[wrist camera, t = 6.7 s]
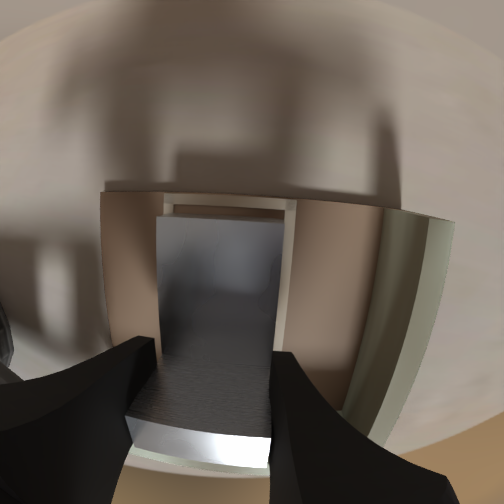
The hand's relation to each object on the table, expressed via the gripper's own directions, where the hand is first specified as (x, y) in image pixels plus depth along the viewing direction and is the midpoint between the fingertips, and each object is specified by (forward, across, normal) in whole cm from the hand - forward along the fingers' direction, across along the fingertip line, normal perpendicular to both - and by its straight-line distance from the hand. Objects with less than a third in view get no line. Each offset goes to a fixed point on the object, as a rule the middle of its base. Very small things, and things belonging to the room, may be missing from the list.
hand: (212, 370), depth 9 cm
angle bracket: (+2, 0, -2) cm, 3 cm away
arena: (+3, -1, 0) cm, 3 cm away
